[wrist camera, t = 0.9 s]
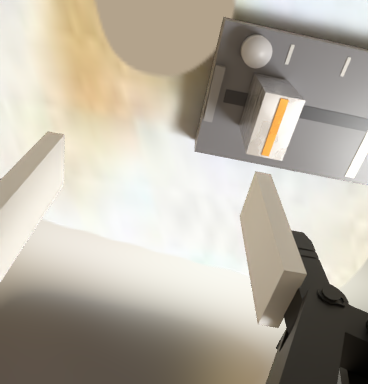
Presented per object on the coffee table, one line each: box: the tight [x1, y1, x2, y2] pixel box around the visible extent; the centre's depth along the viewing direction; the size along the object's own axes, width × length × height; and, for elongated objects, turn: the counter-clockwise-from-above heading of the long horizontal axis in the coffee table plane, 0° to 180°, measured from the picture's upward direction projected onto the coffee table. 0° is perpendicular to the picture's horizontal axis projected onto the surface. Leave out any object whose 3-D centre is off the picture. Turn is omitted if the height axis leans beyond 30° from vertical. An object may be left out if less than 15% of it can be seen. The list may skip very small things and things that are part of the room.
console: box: [195, 17, 368, 185], centre depth 33 cm, size 12×22×4 cm, turn 79°
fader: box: [239, 73, 305, 161], centre depth 29 cm, size 5×3×6 cm, turn 169°
